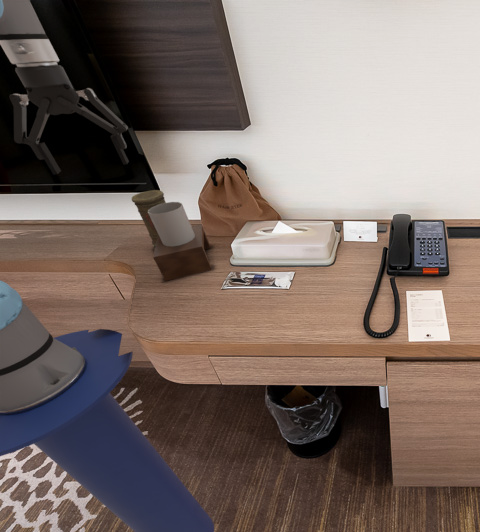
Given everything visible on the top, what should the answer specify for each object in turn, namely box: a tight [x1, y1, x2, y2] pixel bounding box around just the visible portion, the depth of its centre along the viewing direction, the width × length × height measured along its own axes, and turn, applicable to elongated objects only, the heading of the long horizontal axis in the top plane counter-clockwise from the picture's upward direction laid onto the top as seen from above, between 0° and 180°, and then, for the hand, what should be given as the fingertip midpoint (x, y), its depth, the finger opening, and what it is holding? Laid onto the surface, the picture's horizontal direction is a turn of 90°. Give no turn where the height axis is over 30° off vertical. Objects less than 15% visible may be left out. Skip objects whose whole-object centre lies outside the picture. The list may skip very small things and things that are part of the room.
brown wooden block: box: [152, 224, 212, 282], centre depth 103 cm, size 12×16×8 cm
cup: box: [148, 201, 195, 247], centre depth 98 cm, size 8×8×10 cm
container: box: [131, 189, 167, 250], centre depth 109 cm, size 9×9×18 cm
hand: (92, 168), depth 82 cm, fingers open, 13 cm apart
